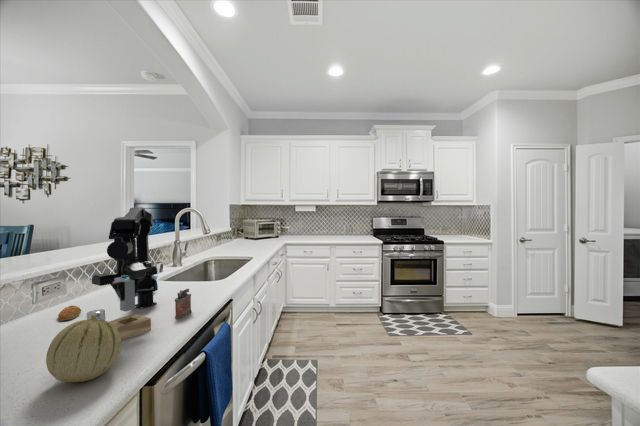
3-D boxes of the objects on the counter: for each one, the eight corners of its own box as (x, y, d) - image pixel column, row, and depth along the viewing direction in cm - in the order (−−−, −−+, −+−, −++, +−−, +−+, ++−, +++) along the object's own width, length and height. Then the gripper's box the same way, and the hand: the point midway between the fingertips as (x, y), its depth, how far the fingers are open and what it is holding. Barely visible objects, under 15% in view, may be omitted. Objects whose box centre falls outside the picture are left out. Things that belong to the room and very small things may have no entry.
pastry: (77, 320, 113) (77, 310, 113) (54, 323, 110) (54, 313, 110) (81, 312, 121) (81, 303, 121) (60, 316, 118) (60, 306, 118)
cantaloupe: (34, 403, 64) (32, 336, 64) (61, 369, 78) (59, 313, 78) (114, 386, 70) (113, 324, 70) (127, 358, 84) (125, 306, 83)
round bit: (84, 329, 104) (83, 312, 104) (100, 324, 108) (100, 308, 108) (91, 332, 101) (91, 315, 101) (108, 327, 106) (107, 310, 106)
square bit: (120, 310, 101) (119, 281, 100) (129, 307, 103) (129, 279, 103) (125, 311, 99) (124, 282, 99) (135, 308, 102) (134, 280, 102)
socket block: (104, 334, 99) (103, 323, 99) (134, 324, 108) (134, 313, 108) (120, 340, 95) (120, 328, 95) (150, 329, 103) (150, 318, 103)
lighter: (180, 319, 113) (180, 293, 113) (172, 318, 114) (172, 292, 113) (193, 311, 121) (193, 287, 121) (186, 311, 121) (185, 287, 121)
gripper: (108, 260, 89) (110, 312, 89) (166, 252, 105) (167, 295, 106) (90, 258, 94) (91, 306, 95) (147, 250, 111) (148, 291, 111)
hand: (127, 299), depth 101 cm, fingers closed on square bit, 3 cm apart
